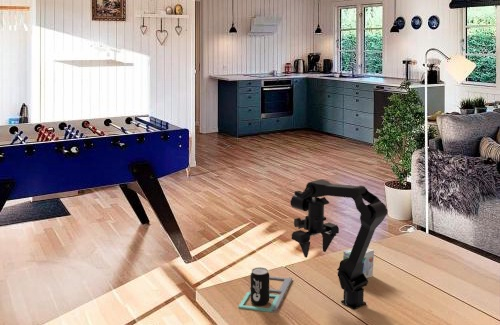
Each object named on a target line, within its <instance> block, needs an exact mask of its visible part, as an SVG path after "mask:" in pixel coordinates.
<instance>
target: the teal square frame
mask: <svg viewBox="0 0 500 325" xmlns="http://www.w3.org/2000/svg"><path fill="white" fill-rule="evenodd" d="M279 296H280V294H271V293H269V298H272V299H273V298H274V299H273V302H272V303H271V305H270V307H269V308H267V307H262V306H251V305H245V304H246V302H247V300H248V299H249V297H251V291H247V292H246V294H245V295H244V297H243V298H242V300H241V301H240V303H239V304H238V306H237V307H238V309H244V310H250V311H260V312H269V313H274V312H273V308H274V306H275V304H276V302H277V300H278V298H279Z"/></svg>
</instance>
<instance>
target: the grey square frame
mask: <svg viewBox="0 0 500 325" xmlns="http://www.w3.org/2000/svg"><path fill="white" fill-rule="evenodd" d="M288 278H289V277H280V276H271V275H269V280H277V281H282V284H281V286H280V287H279V289H274V288H269V290H270V292H269V293H276V294H277V293H278V294H281V292H282V290H283V288H284V286H285V284H286V282H287V280H288ZM249 290H251V286H250V288H249Z"/></svg>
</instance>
